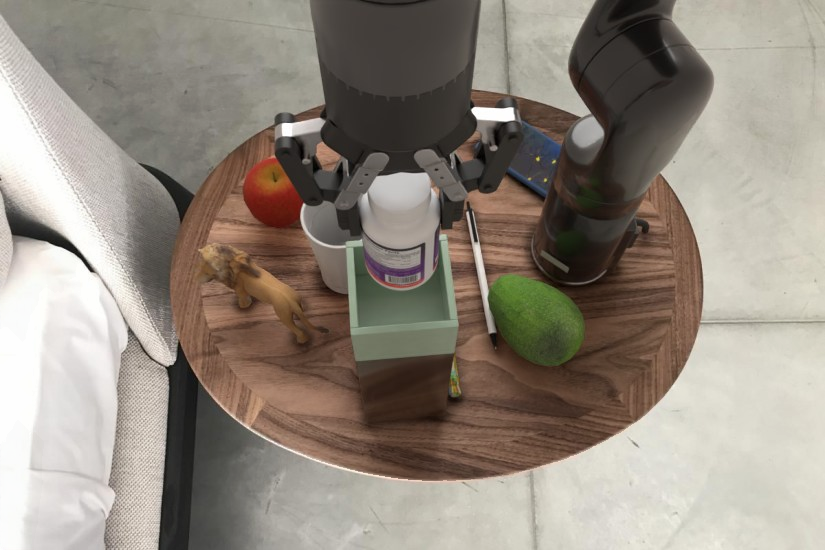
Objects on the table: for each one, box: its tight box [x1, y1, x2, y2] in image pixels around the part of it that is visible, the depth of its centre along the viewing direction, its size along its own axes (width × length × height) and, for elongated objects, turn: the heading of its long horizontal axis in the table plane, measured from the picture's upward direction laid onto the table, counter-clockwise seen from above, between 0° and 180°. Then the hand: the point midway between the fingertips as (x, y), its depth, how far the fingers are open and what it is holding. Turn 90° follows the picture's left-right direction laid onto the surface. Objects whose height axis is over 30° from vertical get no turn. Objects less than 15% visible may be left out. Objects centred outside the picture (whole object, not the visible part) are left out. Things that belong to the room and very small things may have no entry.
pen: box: [465, 200, 498, 350], centre depth 82 cm, size 1×19×1 cm, turn 7°
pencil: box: [448, 352, 462, 398], centre depth 80 cm, size 1×1×18 cm
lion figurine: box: [194, 242, 330, 344], centre depth 77 cm, size 15×5×9 cm, turn 66°
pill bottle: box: [359, 172, 441, 291], centre depth 49 cm, size 5×5×10 cm
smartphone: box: [473, 119, 562, 199], centre depth 90 cm, size 8×1×15 cm
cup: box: [299, 194, 364, 295], centre depth 78 cm, size 8×8×12 cm
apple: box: [242, 157, 304, 230], centre depth 83 cm, size 8×8×8 cm
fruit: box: [487, 273, 586, 367], centre depth 76 cm, size 8×8×12 cm
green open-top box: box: [346, 233, 460, 423], centre depth 67 cm, size 8×8×24 cm
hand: (400, 220), depth 48 cm, fingers closed on pill bottle, 5 cm apart
